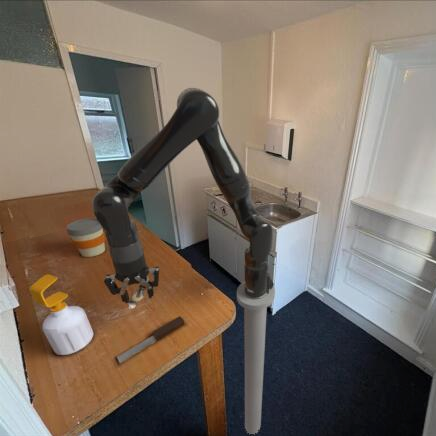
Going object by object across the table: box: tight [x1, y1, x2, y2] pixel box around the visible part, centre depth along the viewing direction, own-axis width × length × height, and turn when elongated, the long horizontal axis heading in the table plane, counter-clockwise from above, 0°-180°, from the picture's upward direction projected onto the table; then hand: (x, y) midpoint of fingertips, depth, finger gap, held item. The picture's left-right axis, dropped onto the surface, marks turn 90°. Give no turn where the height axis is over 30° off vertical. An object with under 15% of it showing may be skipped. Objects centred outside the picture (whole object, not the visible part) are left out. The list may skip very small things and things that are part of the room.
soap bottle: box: [29, 273, 94, 356], centre depth 66 cm, size 9×9×25 cm
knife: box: [116, 315, 185, 364], centre depth 73 cm, size 19×3×2 cm, turn 139°
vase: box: [128, 283, 147, 310], centre depth 72 cm, size 5×5×6 cm
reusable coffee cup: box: [66, 217, 106, 258], centre depth 109 cm, size 13×12×15 cm
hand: (139, 298), depth 73 cm, fingers closed on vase, 5 cm apart
